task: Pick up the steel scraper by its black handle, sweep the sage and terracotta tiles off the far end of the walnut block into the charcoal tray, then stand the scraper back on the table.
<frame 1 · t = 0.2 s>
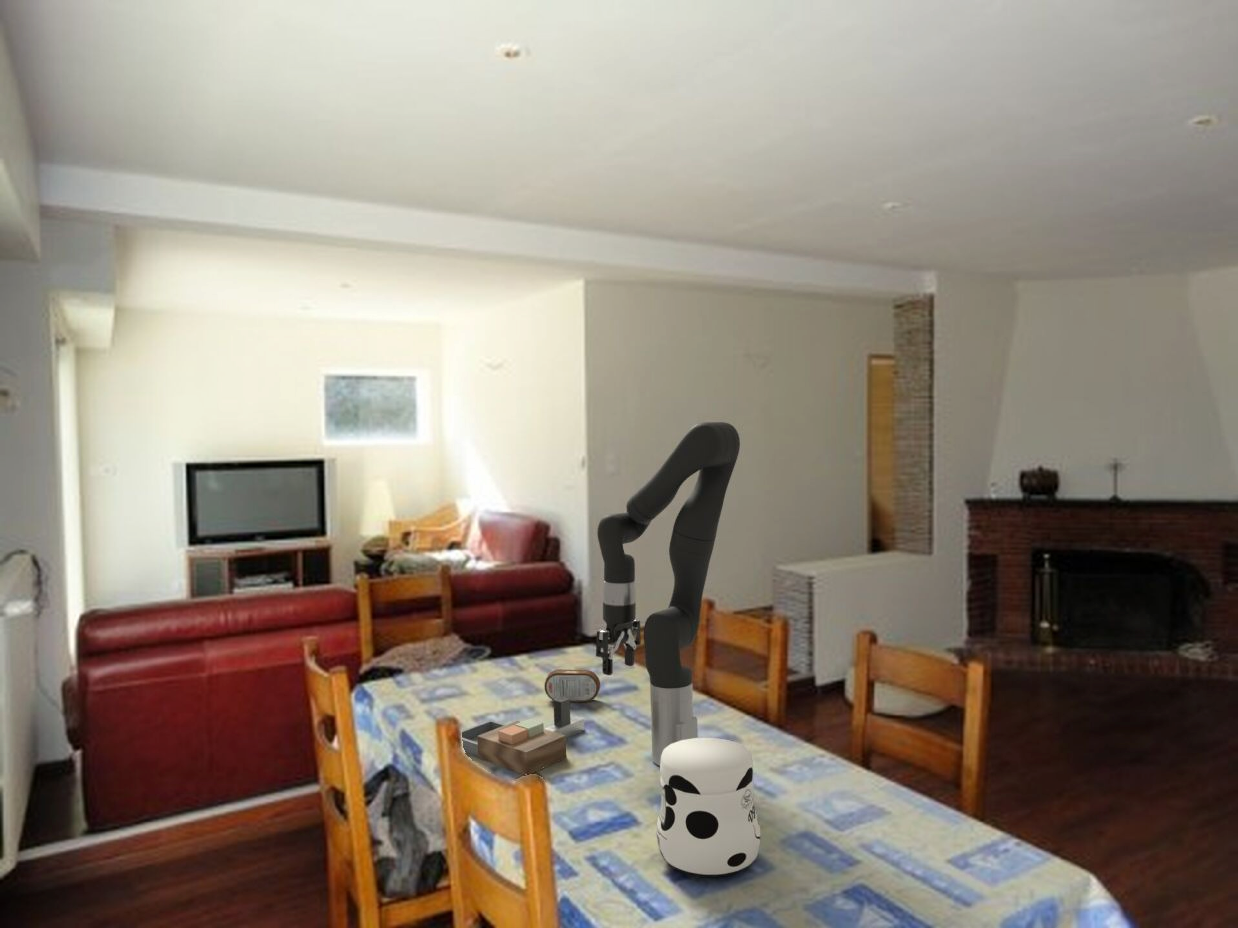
hand: (618, 669, 191), 18 cm above the table, tool pointing down, fingers open, 8 cm apart
tin: (572, 701, 224), on the table
terracotta tile: (512, 738, 184), point 5 cm above the table, touching walnut block
walnut block: (522, 757, 186), on the table
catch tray: (485, 744, 195), on the table
milk container: (708, 860, 140), on the table
sage tile: (529, 732, 188), point 5 cm above the table, touching walnut block
scraper: (562, 736, 199), on the table
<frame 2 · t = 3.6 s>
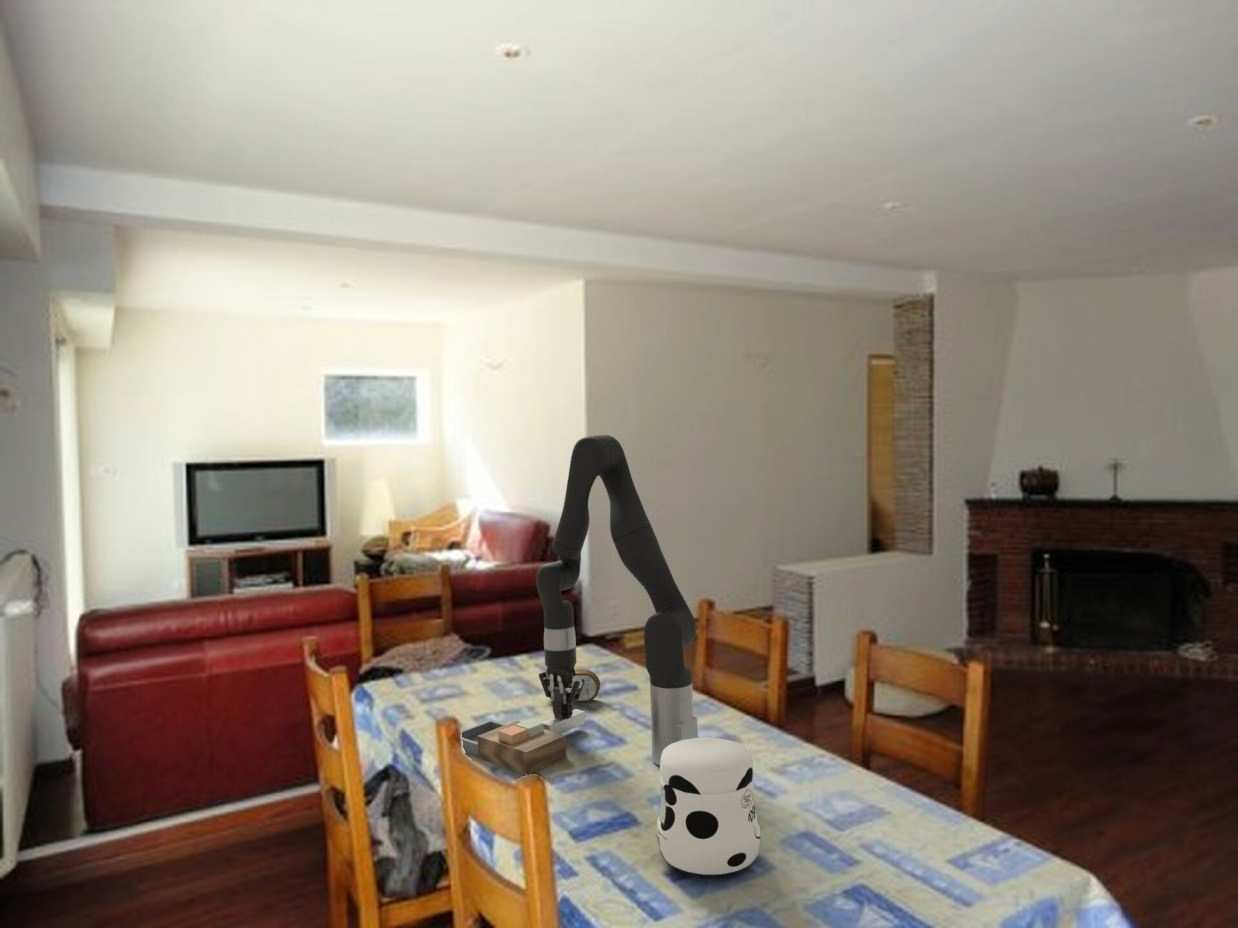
hand: (562, 716, 198), 5 cm above the table, tool pointing down, fingers closed on scraper, 2 cm apart
scraper: (563, 729, 199), point 2 cm above the table, touching gripper
everything else where it was.
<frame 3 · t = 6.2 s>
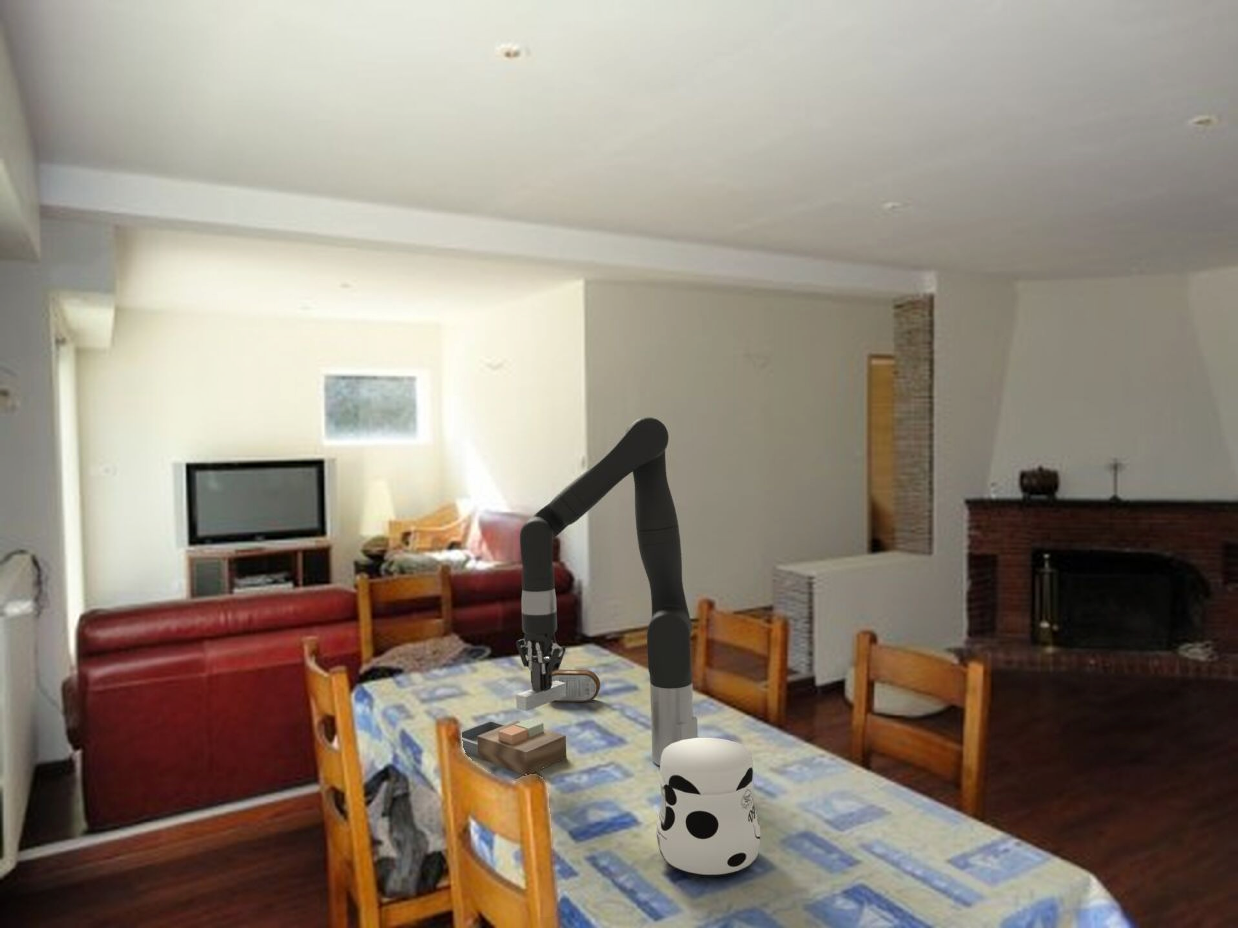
hand: (541, 687, 181), 17 cm above the table, tool pointing down, fingers closed on scraper, 2 cm apart
scraper: (541, 701, 181), point 14 cm above the table, touching gripper
everything else where it was.
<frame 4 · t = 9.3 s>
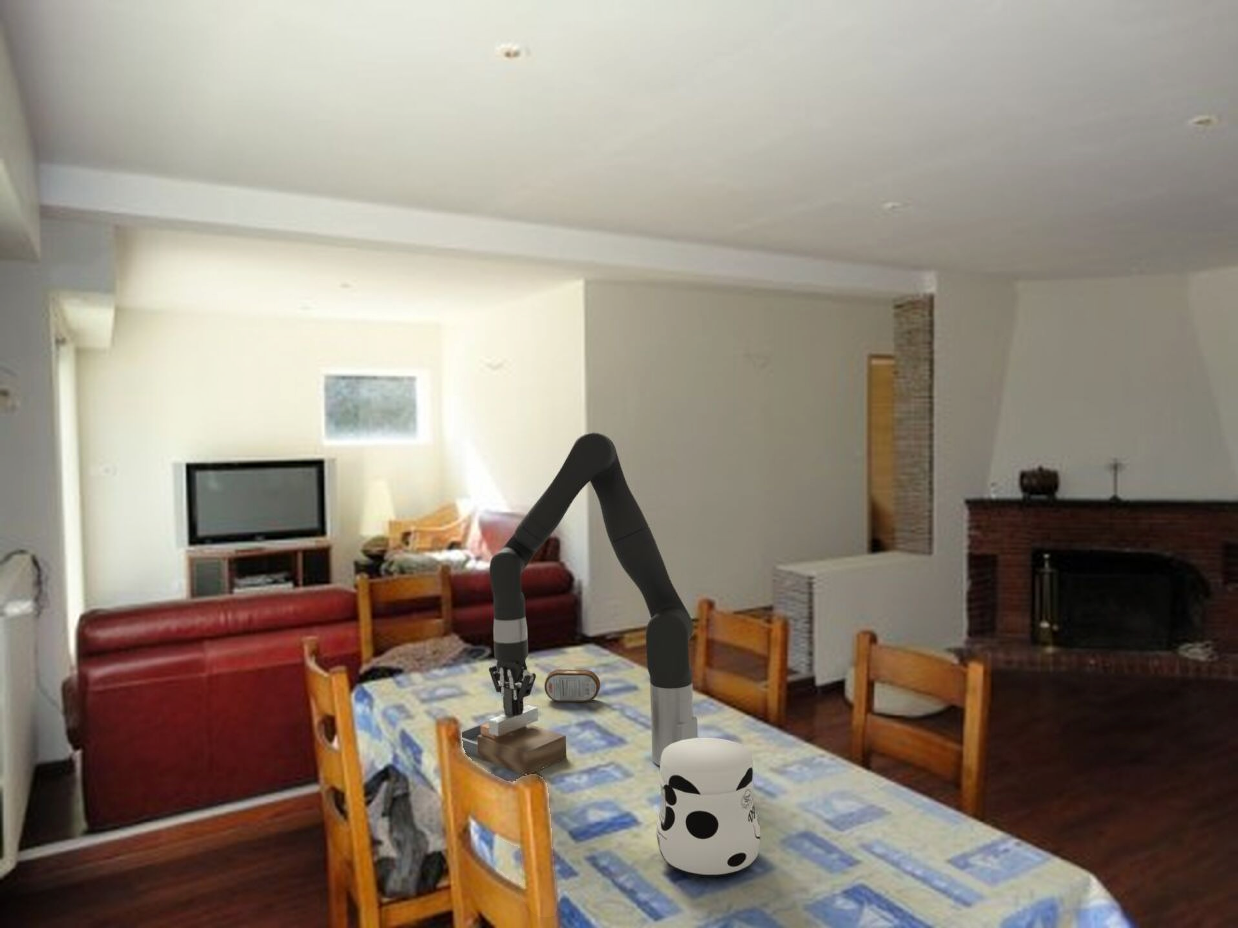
hand: (513, 712, 187), 10 cm above the table, tool pointing down, fingers closed on scraper, 2 cm apart
terracotta tile: (495, 733, 188), point 5 cm above the table, touching walnut block
sage tile: (512, 726, 192), point 5 cm above the table, touching scraper
scraper: (514, 726, 187), point 7 cm above the table, touching gripper, sage tile
everything else where it was.
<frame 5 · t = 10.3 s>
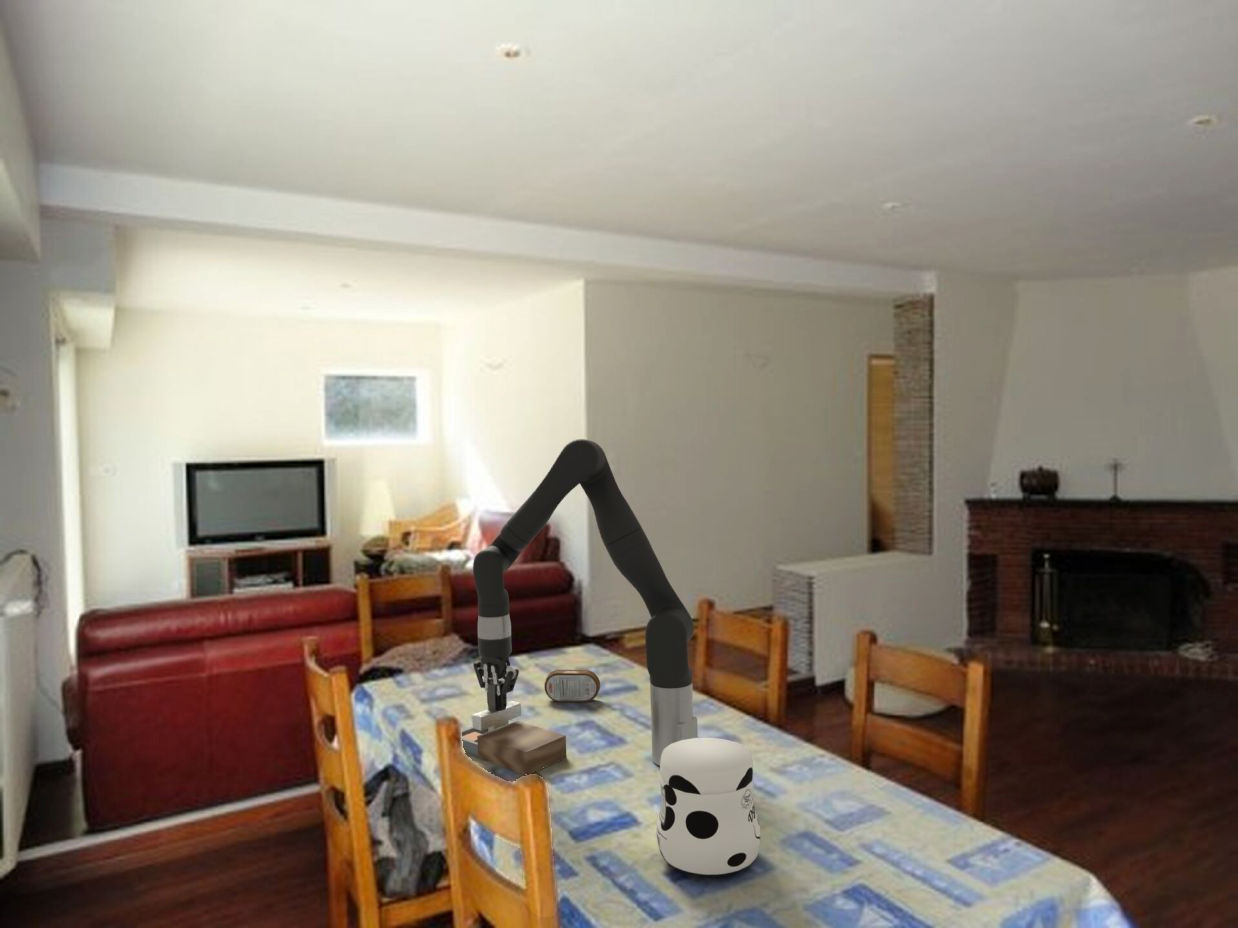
hand: (497, 708, 191), 10 cm above the table, tool pointing down, fingers closed on scraper, 2 cm apart
terracotta tile: (473, 736, 193), point 3 cm above the table, tilted 180°, touching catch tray
sage tile: (501, 732, 194), point 3 cm above the table, tilted 90°, touching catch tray
scraper: (497, 721, 191), point 7 cm above the table, touching gripper
everything else where it was.
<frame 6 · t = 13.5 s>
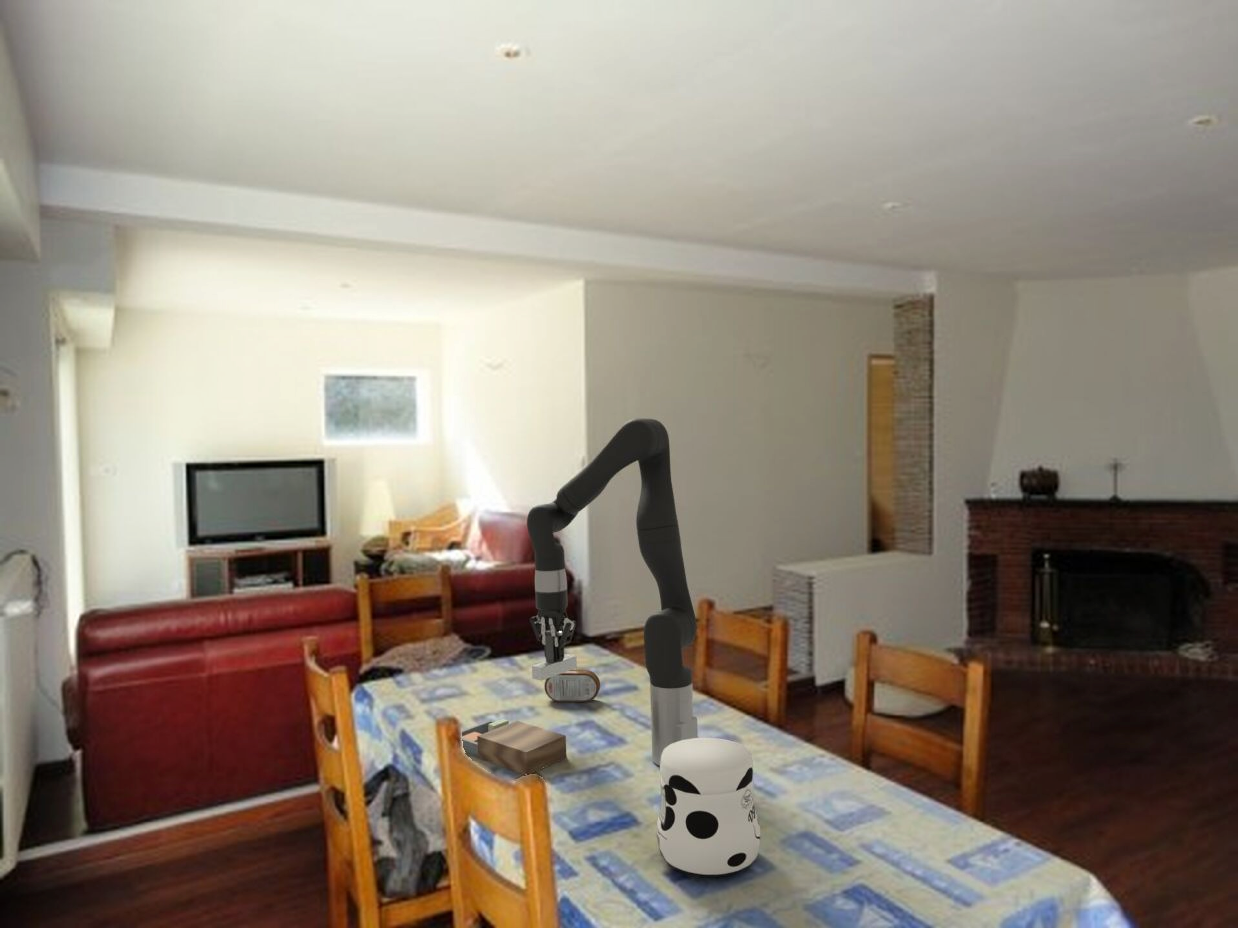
hand: (554, 660, 197), 19 cm above the table, tool pointing down, fingers closed on scraper, 2 cm apart
scraper: (555, 673, 197), point 15 cm above the table, touching gripper
everything else where it was.
when the fingers open (6 cm above the table, at t = 16.5 s): scraper drops 3 cm, on the table.
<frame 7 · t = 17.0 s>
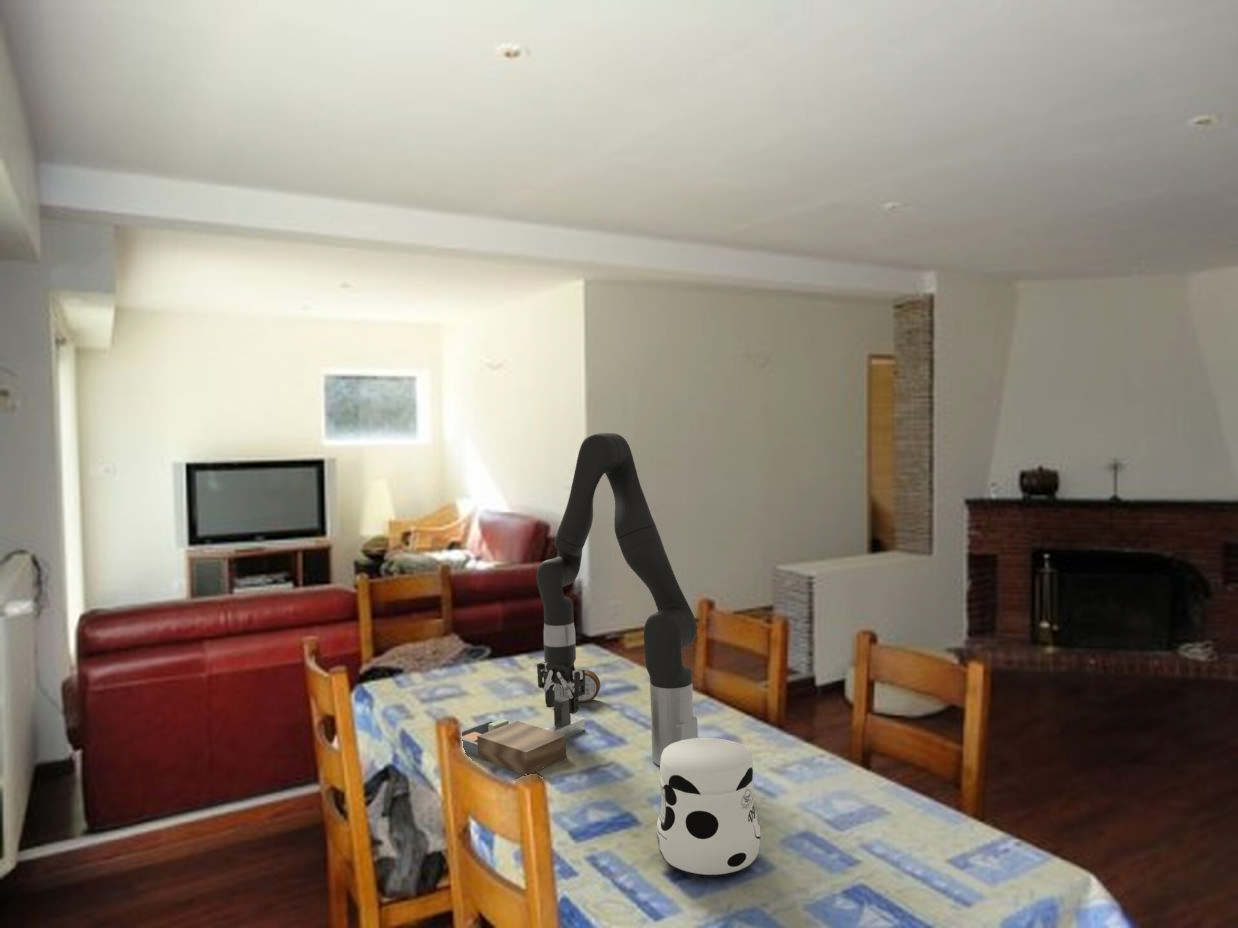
hand: (561, 709, 198), 6 cm above the table, tool pointing down, fingers open, 7 cm apart
scraper: (563, 736, 199), on the table
everything else where it was.
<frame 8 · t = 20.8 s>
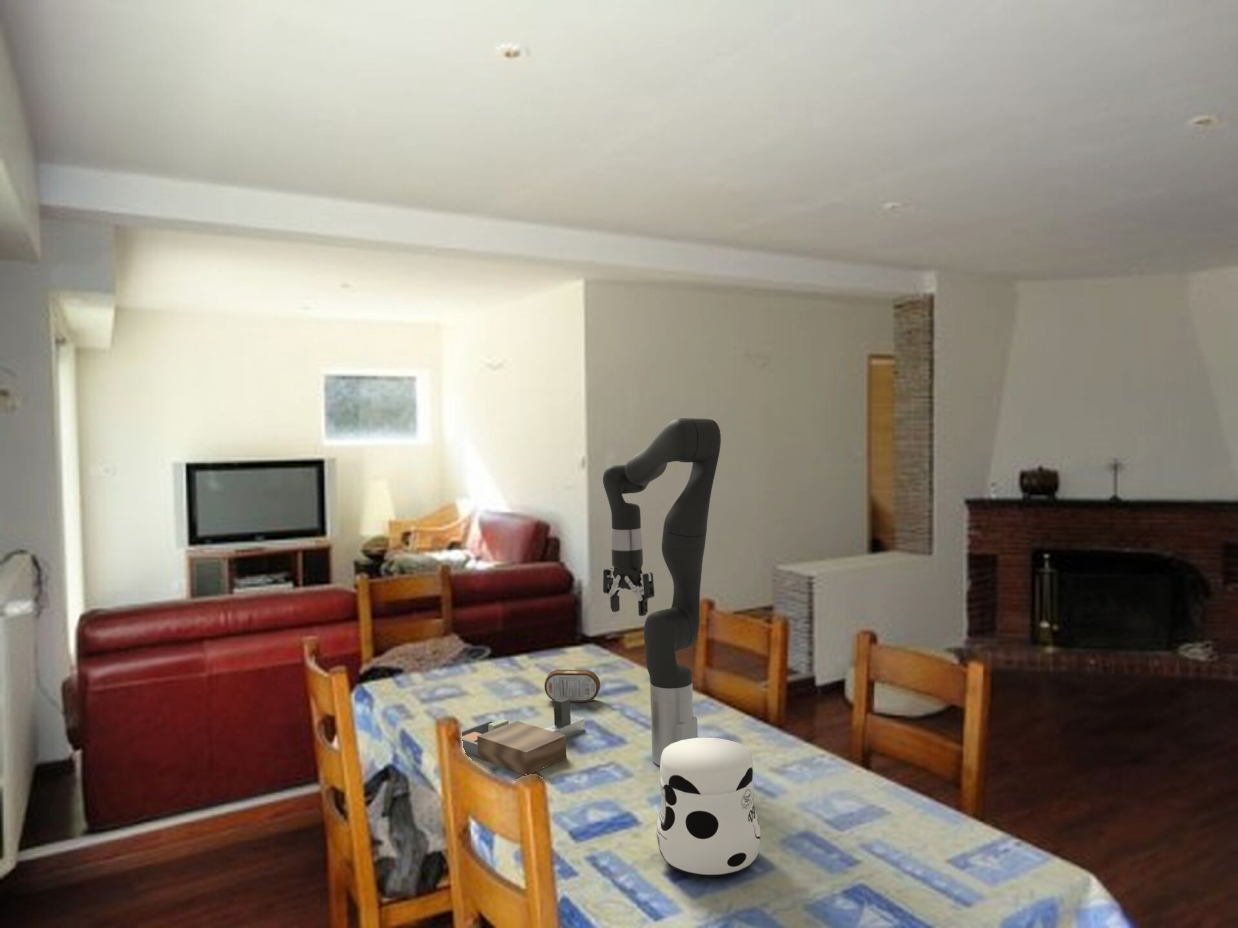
hand: (628, 613, 202), 28 cm above the table, tool pointing down, fingers open, 8 cm apart
nothing on the table moved.
at the end: sage tile inside the target area on the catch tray (4.1 cm from its centre), point 2.8 cm above the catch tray's base; terracotta tile inside the target area on the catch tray (3.0 cm from its centre), point 2.6 cm above the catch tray's base; scraper inside the target area (0.1 cm from its centre), on the table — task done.
